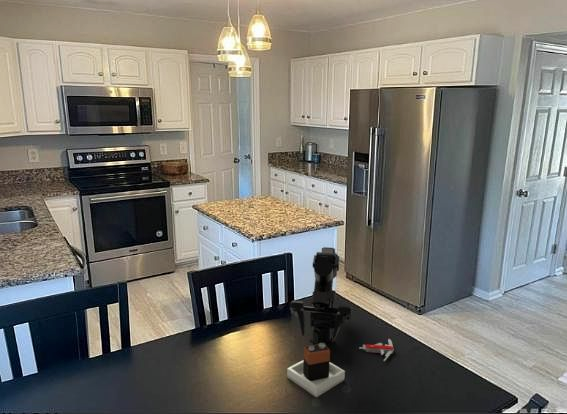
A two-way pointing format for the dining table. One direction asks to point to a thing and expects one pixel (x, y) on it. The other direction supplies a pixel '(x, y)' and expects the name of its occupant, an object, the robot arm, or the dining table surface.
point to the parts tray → (317, 385)
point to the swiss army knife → (379, 348)
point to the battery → (316, 362)
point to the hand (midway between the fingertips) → (318, 338)
